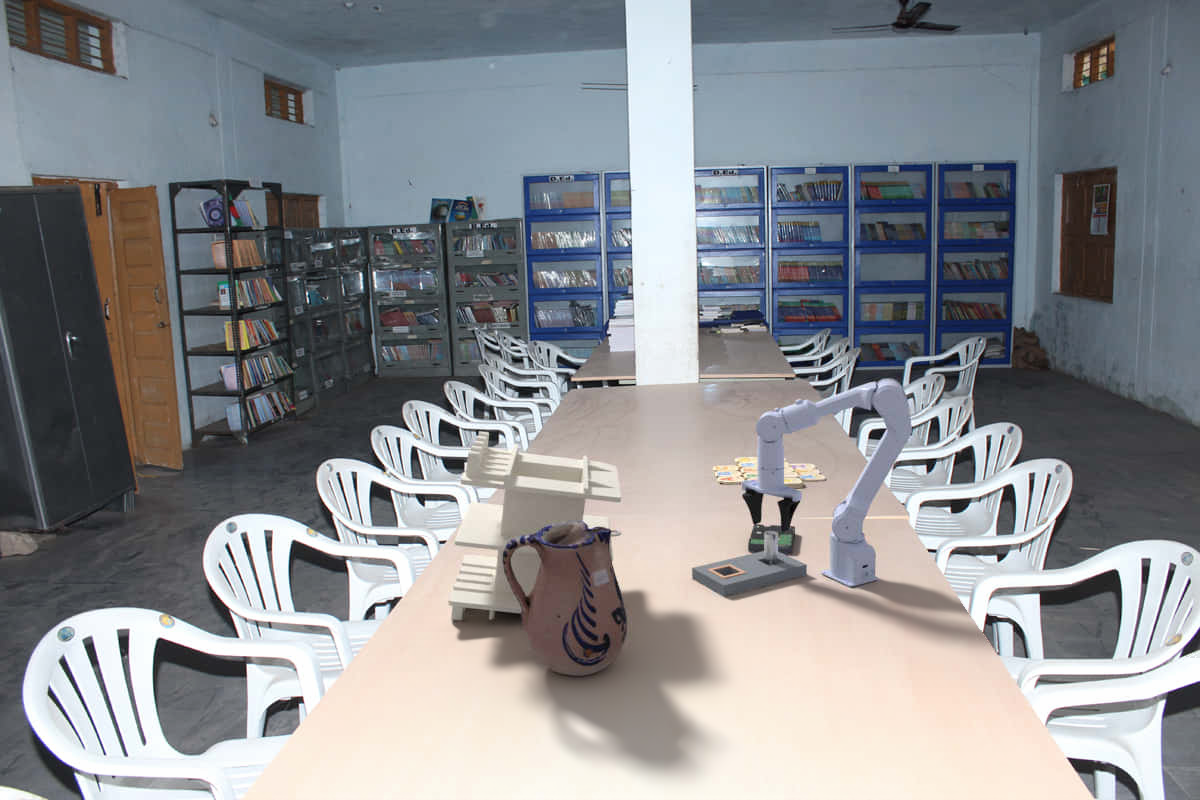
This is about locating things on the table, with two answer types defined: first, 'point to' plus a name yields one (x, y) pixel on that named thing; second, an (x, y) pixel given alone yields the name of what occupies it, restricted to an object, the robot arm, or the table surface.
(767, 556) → the steel pin
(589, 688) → the table surface
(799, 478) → the alphabet tiles
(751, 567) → the dock plate
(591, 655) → the ceramic pitcher
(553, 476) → the desk organizer
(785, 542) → the disk drive
